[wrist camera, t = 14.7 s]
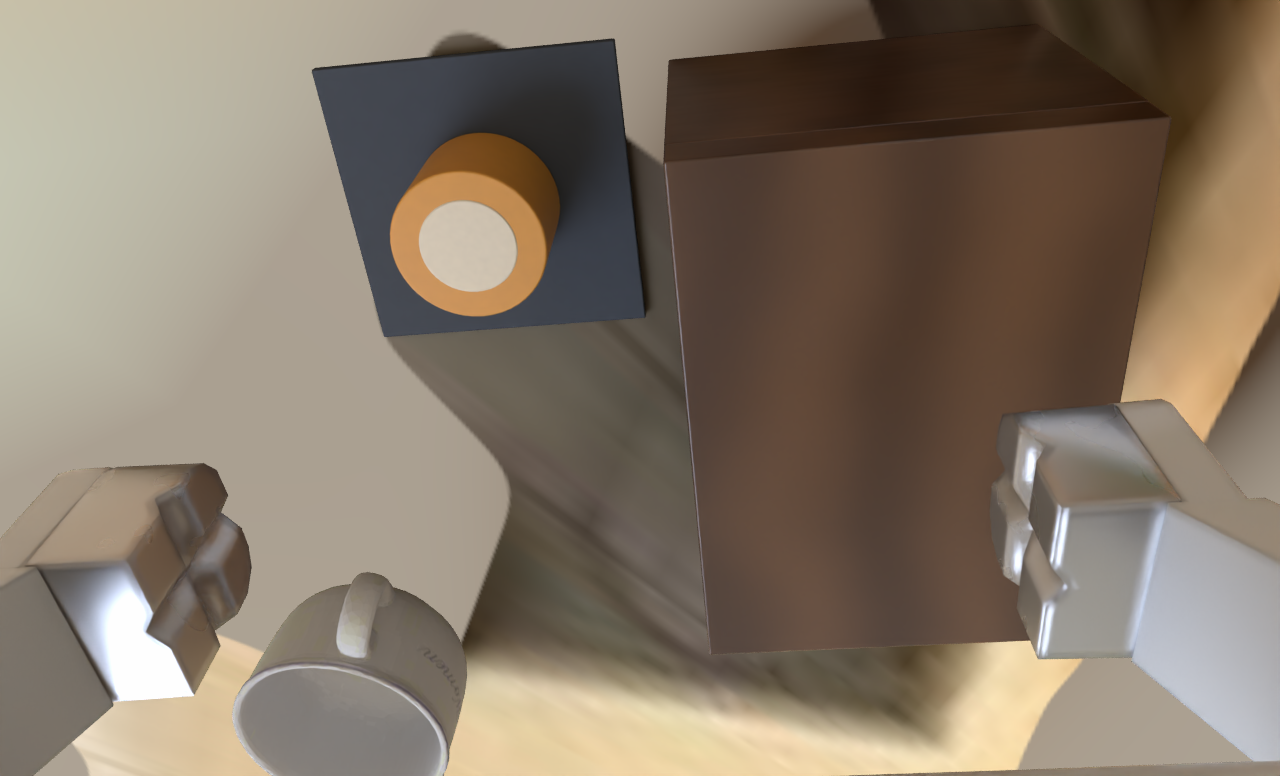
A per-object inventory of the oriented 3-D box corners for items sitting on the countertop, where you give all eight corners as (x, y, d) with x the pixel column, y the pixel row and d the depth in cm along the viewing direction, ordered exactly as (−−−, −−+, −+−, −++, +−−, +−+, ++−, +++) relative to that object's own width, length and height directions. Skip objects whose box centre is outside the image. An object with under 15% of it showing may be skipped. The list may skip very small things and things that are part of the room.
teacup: (444, 713, 59) (412, 835, 52) (265, 657, 57) (208, 777, 50) (523, 553, 52) (499, 669, 45) (323, 483, 50) (266, 594, 43)
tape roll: (548, 125, 39) (533, 164, 35) (569, 261, 43) (557, 312, 39) (403, 138, 40) (371, 178, 36) (434, 272, 43) (408, 323, 39)
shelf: (1038, 23, 37) (1173, 116, 27) (993, 454, 47) (1078, 639, 37) (668, 59, 38) (663, 161, 28) (703, 471, 49) (709, 655, 39)
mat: (614, 37, 38) (614, 40, 38) (645, 313, 44) (645, 318, 44) (314, 67, 39) (311, 70, 39) (386, 333, 45) (383, 337, 45)
